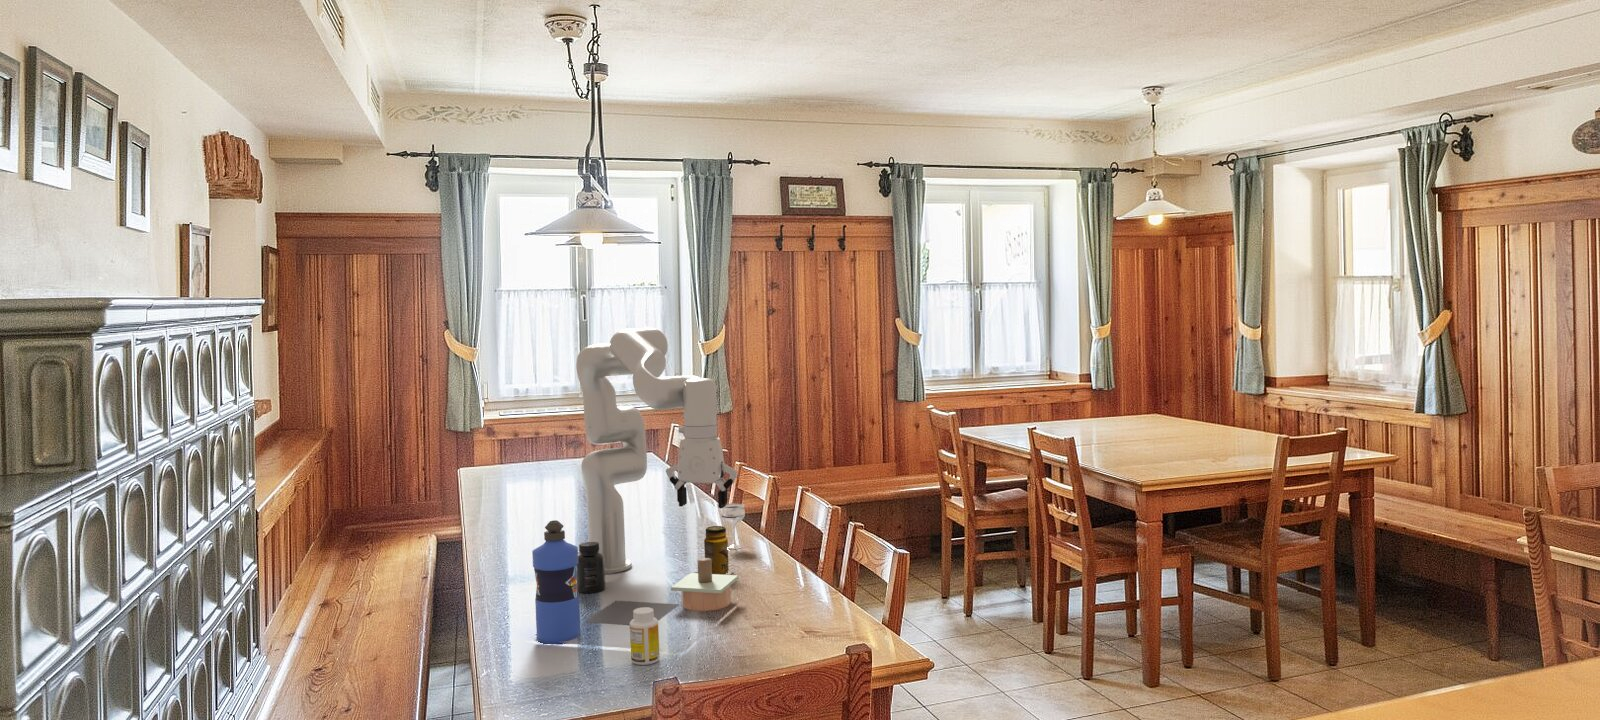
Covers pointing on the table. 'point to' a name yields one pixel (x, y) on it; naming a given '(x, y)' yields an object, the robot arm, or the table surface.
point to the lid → (705, 580)
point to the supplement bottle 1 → (590, 569)
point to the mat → (627, 612)
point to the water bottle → (556, 587)
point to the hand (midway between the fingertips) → (702, 506)
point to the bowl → (706, 600)
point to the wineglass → (733, 517)
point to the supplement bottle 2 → (644, 637)
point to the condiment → (717, 549)
